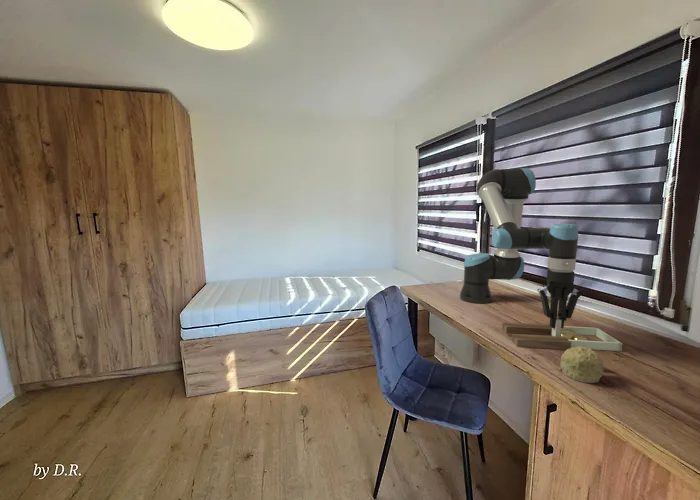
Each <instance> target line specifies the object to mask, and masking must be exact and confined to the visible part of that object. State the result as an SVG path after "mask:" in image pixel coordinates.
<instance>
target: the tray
mask: <svg viewBox="0 0 700 500" xmlns="http://www.w3.org/2000/svg"><path fill="white" fill-rule="evenodd" d="M561 329H569V330H572V331H574V332H575V334H577V335H582V336H596V337H597V338H599V339H600V340H601V341H600V340H587V341H585V340H569V341H570V342H571V348H572V347H578V346H581V347H586V348H589V349H591V350H593V351H594V350H596V351H611V352H612V351H613V352H615V351H616V352H622V351H623V343H622V342H621V341H619V340H618V339H616V338H614V337H613V336H611V335H610V334H608V333H606V332H605V331H604V330H602V329H600V328H599V327H592V326H591V327H589V326H586V327H585V326H569V325H568V326H567V325H564V328H561Z"/></svg>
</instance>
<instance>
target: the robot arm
mask: <svg viewBox="0 0 700 500" xmlns="http://www.w3.org/2000/svg"><path fill="white" fill-rule="evenodd" d="M536 183H537V182H536V175H535V173H534V171H533V170H532V169H530V168H525V167H524V168H523V167H520V168H519V167H517V168H497V169H491V170H489V171H486V173H484V174H483V175H482V176H481V177H480V179H479V181H478V182H477V187H476V193H477V195H478V198H479V199H480V200H481V201H483V204H484V207H485V209H486V211H487V213H488V215H489V216H488V217H489V218H490V221H491V223H492V226H493V228H494V230H493V231H492V233H491V243H492V246H493V247H494V248H495V249H496V250H494V252H493V256H491V255H490V254H489V253H484V252H483V253H482V252H480V253H479V252H478V253H473V254H469V255H467V256H465V257H464V263H463V266H464V267H463V271H464V272H463V276H464V277H463V286H462V288H461V291H460V293H459V299H460V300H462V301H463V302H467V303H472V304H487V303H488V304H489V303H491V302H492V301H493V296H492V293H491V289H490V286H489V280H498V281H499V280H502V281H503V280H504V281H505V280H506V281H511V280H512V281H513V280H518V279H520V278H521V277H522V275H523V273H524V269H525V264H524V263H525V260H524V258H523V257H522V256H521V254H520V252H519V250H520V249H521V250H523V249H524V250H525V249H526V250H527V249H528V250H529V249H531V250H533V249H534V250H537V249H538V250H542V249H544V250H548V257H547V258H548V259H547V260H548V261H547V270H546V271H547V274H546V283H545V285H544V287H542V288H537V292H538V294H539V296H540V300H541V306H542V310H543V314H544V316H546V317H547V318H549V324H550V327H552V336H560V334H561V328H564V326H565V321H567V319H571V318H572V317H573V313H574V311H575V308H576V306H577V303H578V301H579V298H581V296H582V295H583V292H582V291H580V290H578V289H576V287H575V284H574V283H575V276H576V275H575V274H576V272H574V271H575V270H576V263H577V262H576V260H577V251H578V241H579V227H578V225H577V224H573V223H554V224H551V226H550V228H549V227H538V228H537V227H535V228H532V227H531V228H529V227H528V228H526V227H525V228H523V227H522V228H521V225H522V218H523V217H522V216H523V211H524V203H525V202H526V201H527V200H528V199H529V196H530V195H532V194H533V193H534V192H535V190H536V186H537V184H536ZM548 293H549V295H550V303H549V299H548Z"/></svg>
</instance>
